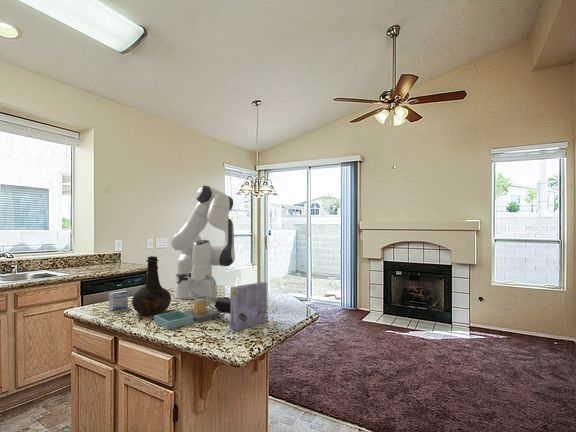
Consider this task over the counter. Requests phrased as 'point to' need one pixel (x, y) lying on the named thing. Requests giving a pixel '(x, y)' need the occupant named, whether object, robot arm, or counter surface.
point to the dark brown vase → (151, 292)
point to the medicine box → (118, 300)
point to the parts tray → (173, 319)
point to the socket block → (203, 315)
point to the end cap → (223, 304)
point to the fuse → (199, 306)
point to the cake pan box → (248, 305)
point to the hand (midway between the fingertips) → (202, 304)
